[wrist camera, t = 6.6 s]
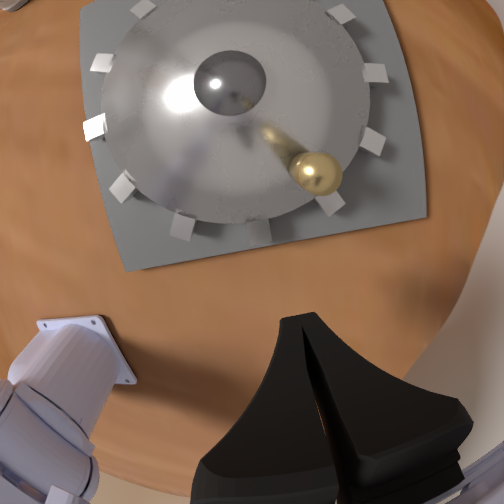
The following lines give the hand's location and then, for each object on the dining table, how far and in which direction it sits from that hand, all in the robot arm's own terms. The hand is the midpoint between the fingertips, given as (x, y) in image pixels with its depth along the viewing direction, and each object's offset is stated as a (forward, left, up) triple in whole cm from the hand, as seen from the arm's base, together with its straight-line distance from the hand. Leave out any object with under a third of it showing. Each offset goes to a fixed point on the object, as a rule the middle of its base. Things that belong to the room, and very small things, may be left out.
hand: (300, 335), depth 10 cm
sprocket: (-1, +11, -7) cm, 13 cm away
